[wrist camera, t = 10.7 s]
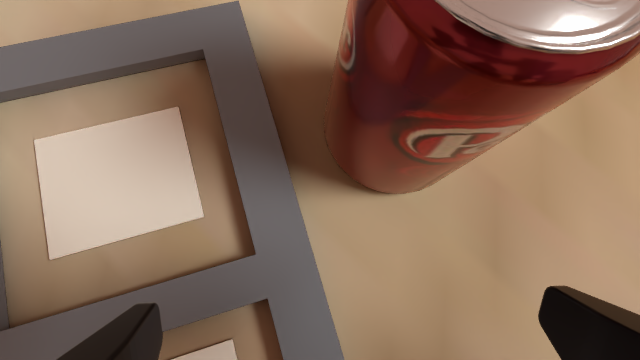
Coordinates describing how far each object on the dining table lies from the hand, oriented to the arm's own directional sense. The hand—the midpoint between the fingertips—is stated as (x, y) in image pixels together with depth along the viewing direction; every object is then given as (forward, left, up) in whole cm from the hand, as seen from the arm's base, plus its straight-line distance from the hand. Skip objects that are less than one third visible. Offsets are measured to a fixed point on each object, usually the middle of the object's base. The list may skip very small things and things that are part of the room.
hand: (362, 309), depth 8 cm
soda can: (+7, -6, -9) cm, 13 cm away
